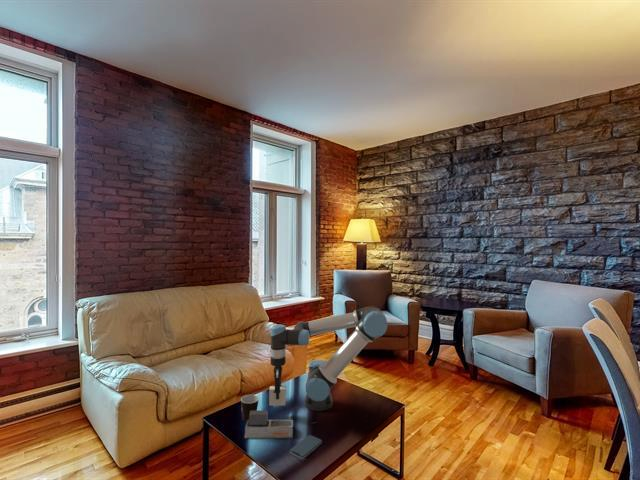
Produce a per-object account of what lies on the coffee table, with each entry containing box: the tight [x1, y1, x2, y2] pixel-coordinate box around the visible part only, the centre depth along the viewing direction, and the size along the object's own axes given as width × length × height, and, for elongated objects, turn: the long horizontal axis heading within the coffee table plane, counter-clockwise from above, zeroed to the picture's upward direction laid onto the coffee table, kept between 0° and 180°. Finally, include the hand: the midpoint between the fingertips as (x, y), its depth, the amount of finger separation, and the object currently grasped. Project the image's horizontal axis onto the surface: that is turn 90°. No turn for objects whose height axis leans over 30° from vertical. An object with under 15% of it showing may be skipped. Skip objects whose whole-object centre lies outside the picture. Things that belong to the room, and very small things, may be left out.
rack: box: [244, 410, 294, 439], centre depth 148 cm, size 21×9×9 cm, turn 93°
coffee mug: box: [240, 394, 260, 423], centre depth 160 cm, size 12×9×10 cm
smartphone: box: [289, 434, 323, 460], centre depth 138 cm, size 8×2×15 cm
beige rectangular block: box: [268, 385, 287, 406], centre depth 163 cm, size 8×4×8 cm, turn 93°
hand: (277, 402), depth 163 cm, fingers closed on beige rectangular block, 3 cm apart
